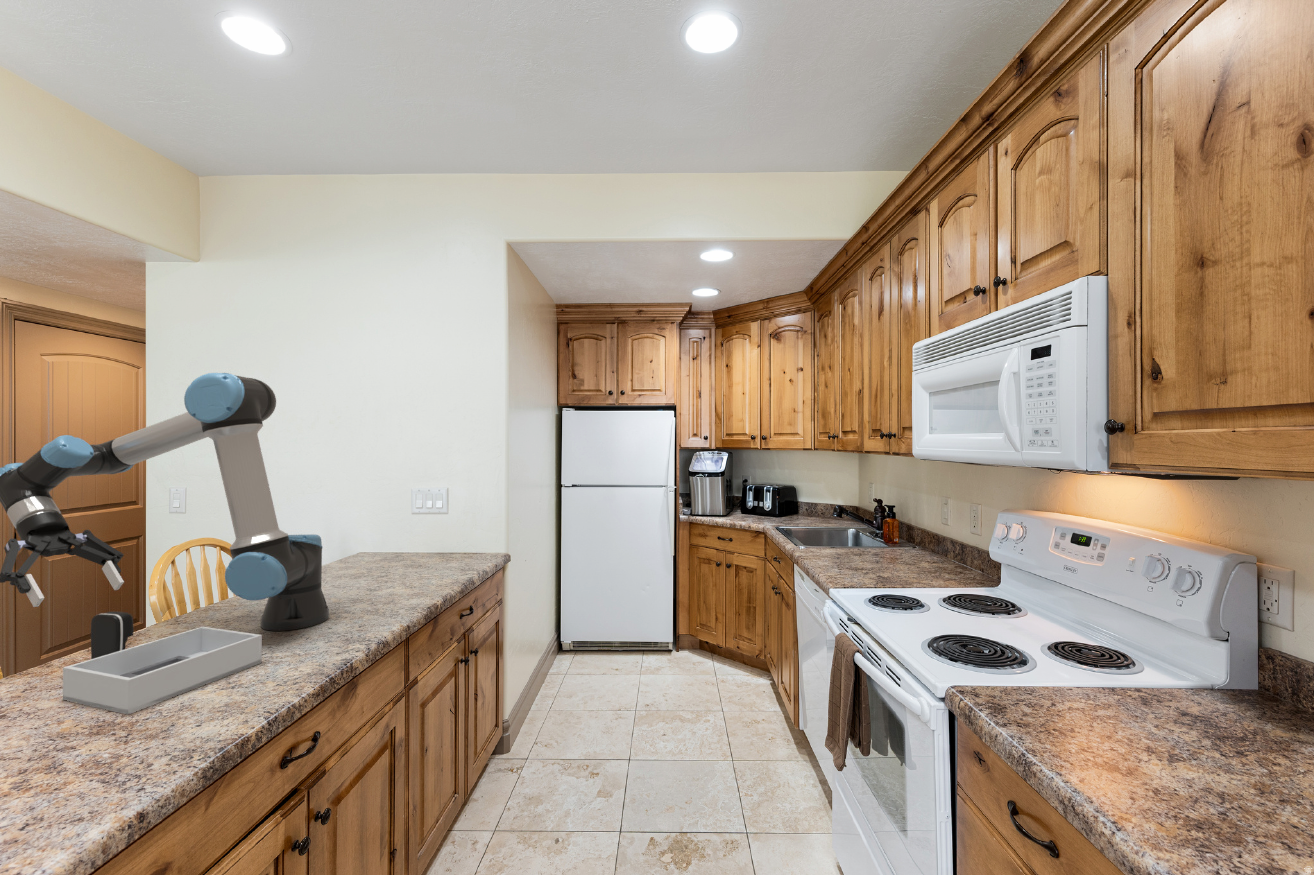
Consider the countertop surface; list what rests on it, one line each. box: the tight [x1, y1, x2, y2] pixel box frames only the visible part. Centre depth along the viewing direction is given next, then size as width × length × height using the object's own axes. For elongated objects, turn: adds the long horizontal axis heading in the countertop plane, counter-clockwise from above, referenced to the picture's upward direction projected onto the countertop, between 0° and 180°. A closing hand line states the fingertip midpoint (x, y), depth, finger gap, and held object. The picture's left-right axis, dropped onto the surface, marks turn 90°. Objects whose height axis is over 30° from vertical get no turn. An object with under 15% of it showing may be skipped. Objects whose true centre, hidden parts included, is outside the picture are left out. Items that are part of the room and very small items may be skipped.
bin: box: [62, 626, 263, 715], centre depth 112 cm, size 24×18×6 cm
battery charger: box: [90, 611, 135, 660], centre depth 119 cm, size 7×4×11 cm, turn 81°
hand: (81, 594), depth 122 cm, fingers open, 13 cm apart
